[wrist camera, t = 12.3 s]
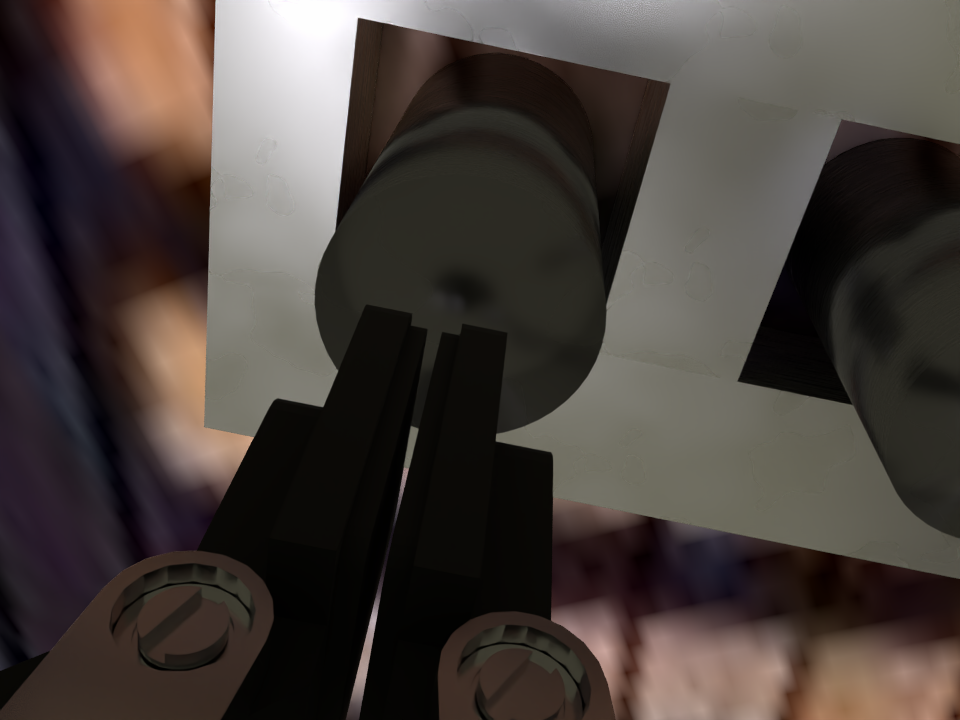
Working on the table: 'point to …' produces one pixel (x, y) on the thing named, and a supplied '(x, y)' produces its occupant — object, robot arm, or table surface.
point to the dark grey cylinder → (480, 231)
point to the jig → (658, 252)
